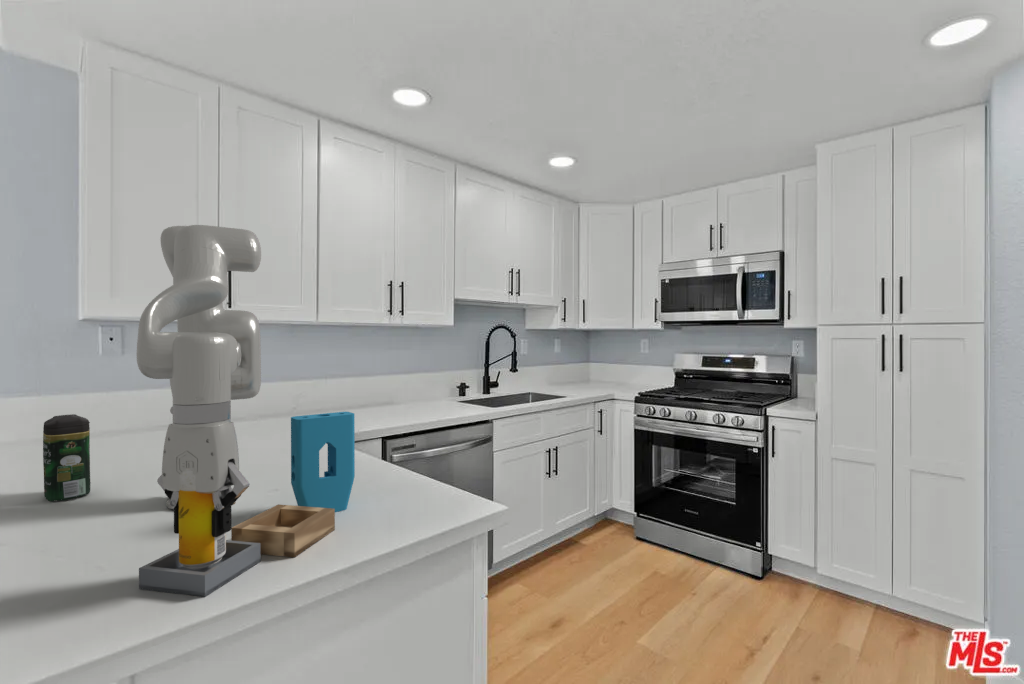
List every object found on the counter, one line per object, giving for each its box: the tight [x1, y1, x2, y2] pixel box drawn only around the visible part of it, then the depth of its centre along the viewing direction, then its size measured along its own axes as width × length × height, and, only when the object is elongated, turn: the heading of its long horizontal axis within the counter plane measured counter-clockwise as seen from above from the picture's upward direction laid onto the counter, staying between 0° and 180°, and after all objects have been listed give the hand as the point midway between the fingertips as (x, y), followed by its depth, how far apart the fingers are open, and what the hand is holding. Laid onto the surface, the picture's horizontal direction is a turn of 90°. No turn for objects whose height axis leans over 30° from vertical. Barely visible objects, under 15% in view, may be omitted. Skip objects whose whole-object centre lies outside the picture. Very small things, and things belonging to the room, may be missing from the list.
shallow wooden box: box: [230, 504, 336, 558], centre depth 88 cm, size 12×12×4 cm
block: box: [290, 411, 356, 513], centre depth 103 cm, size 12×5×20 cm, turn 130°
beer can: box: [178, 468, 227, 569], centre depth 75 cm, size 6×6×15 cm
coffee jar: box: [42, 413, 91, 502], centre depth 113 cm, size 10×8×19 cm
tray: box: [138, 539, 262, 598], centre depth 75 cm, size 11×11×3 cm
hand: (203, 530), depth 75 cm, fingers closed on beer can, 6 cm apart
